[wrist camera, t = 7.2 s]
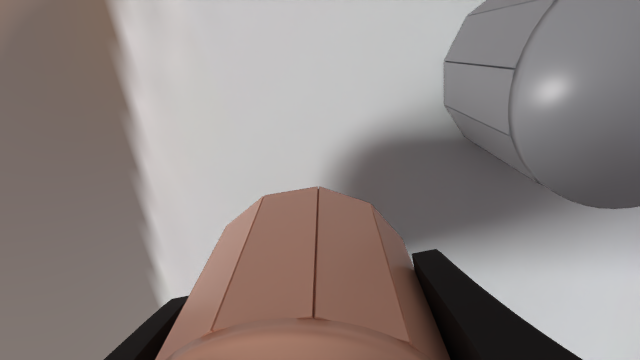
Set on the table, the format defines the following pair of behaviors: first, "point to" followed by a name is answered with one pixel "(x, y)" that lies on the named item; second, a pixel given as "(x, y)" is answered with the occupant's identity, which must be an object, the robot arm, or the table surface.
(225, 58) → the table surface
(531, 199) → the table surface
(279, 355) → the peach domed cylinder
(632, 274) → the table surface
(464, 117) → the gray domed cylinder
